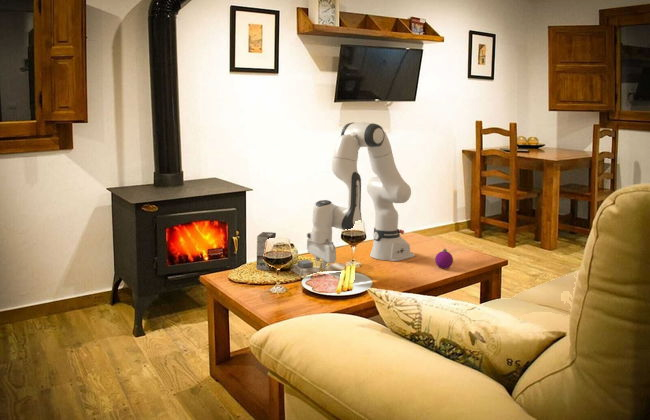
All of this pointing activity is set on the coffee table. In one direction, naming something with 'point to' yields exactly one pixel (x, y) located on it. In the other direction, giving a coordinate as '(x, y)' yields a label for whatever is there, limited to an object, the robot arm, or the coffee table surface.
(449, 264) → the christmas ornament
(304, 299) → the coffee table surface
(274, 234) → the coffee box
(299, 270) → the lane shelf
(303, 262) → the cord block
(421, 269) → the coffee table surface
